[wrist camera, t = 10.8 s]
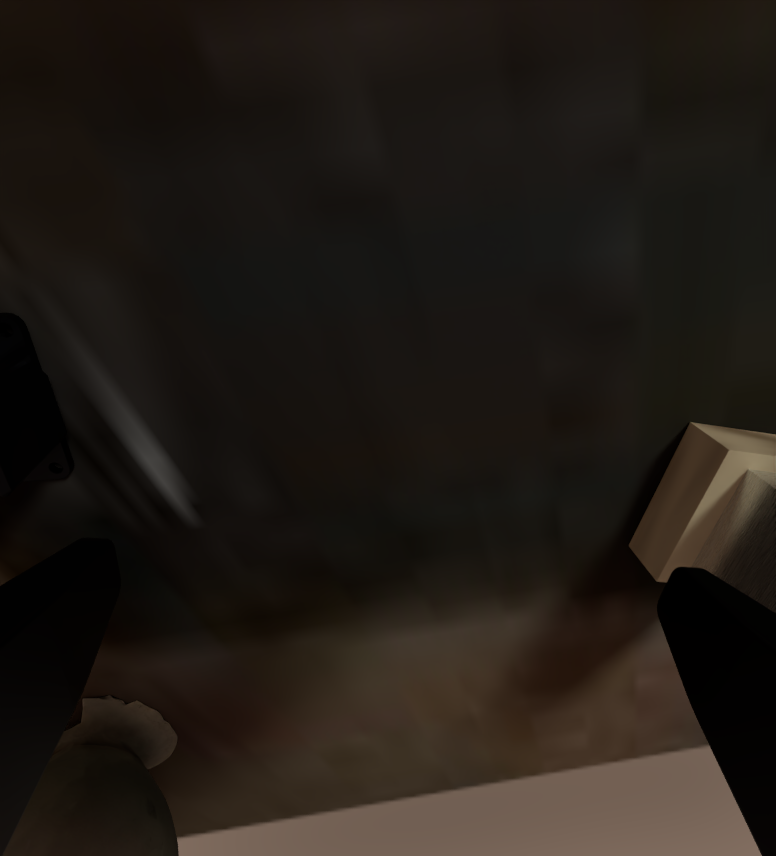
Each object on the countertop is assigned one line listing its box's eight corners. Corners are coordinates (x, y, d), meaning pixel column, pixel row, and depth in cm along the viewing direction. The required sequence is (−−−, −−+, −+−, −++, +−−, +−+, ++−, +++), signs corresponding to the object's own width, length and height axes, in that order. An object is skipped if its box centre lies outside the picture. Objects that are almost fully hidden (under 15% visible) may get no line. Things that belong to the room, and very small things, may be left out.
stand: (628, 545, 26) (656, 581, 23) (690, 422, 23) (729, 449, 20) (747, 556, 27) (784, 592, 25) (820, 441, 24) (871, 469, 22)
